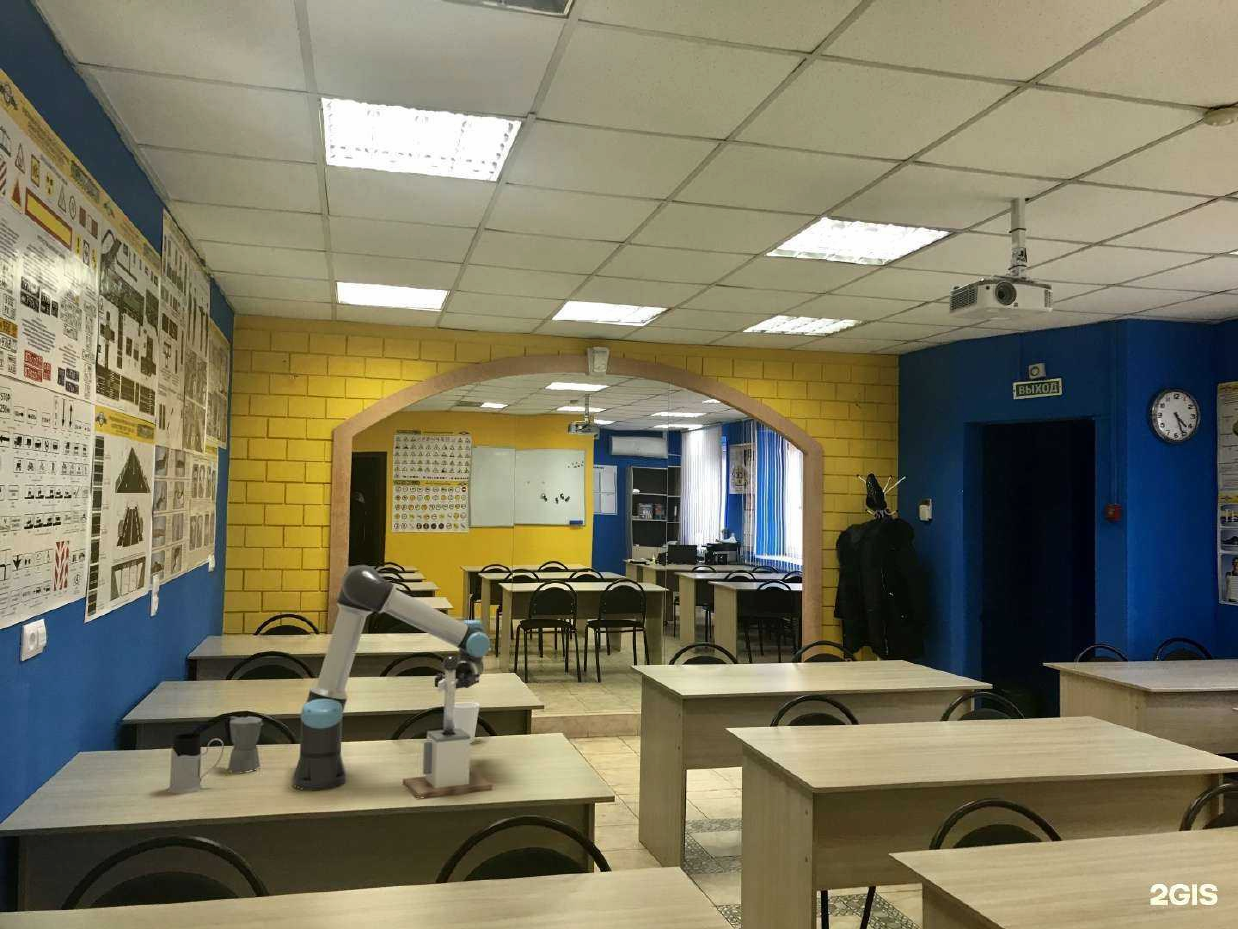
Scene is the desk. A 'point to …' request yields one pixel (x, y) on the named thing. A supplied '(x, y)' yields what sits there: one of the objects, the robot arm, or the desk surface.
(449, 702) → the plunger
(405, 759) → the desk surface
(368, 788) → the desk surface
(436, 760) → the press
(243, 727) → the coffeepot
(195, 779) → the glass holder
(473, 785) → the board
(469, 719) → the foam cup
